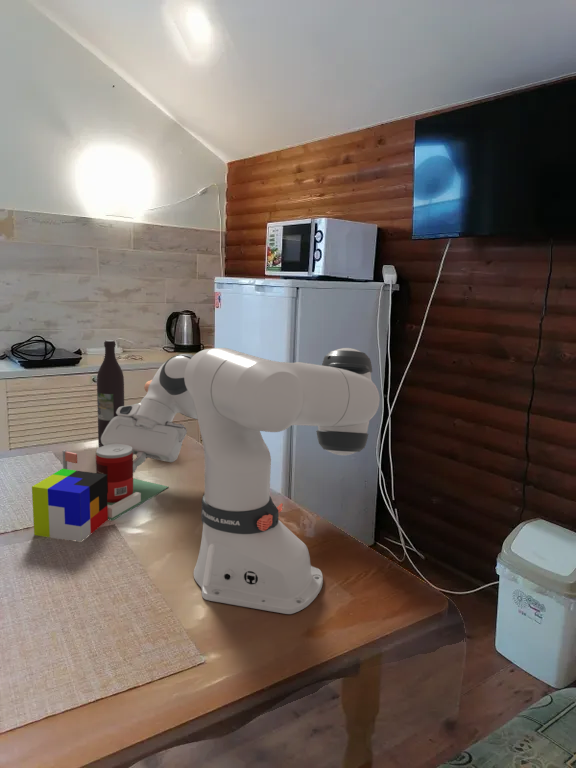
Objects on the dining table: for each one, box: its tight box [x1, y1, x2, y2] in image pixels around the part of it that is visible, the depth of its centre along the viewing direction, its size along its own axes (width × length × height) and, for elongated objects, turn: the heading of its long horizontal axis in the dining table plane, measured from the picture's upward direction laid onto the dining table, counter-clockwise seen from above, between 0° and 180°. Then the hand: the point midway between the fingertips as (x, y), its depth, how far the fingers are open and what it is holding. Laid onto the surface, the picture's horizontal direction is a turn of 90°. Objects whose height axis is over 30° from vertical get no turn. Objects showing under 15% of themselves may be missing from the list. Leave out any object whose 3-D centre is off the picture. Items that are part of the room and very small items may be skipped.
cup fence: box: [62, 449, 141, 518], centre depth 128 cm, size 13×9×12 cm
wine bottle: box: [96, 339, 125, 448], centre depth 162 cm, size 7×7×30 cm
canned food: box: [95, 444, 134, 503], centre depth 132 cm, size 8×8×11 cm
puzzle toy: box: [31, 468, 109, 542], centre depth 117 cm, size 10×10×10 cm
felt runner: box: [107, 477, 169, 521], centre depth 133 cm, size 14×20×1 cm
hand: (127, 470), depth 136 cm, fingers closed
